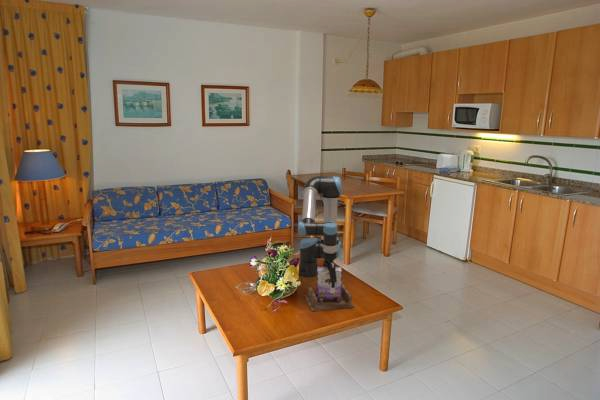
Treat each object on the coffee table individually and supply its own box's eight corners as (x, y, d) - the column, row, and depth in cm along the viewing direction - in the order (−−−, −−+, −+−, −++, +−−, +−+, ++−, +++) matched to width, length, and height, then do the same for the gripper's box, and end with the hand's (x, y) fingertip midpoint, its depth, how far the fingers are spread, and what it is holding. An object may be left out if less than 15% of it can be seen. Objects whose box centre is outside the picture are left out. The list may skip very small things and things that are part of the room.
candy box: (341, 294, 227) (341, 266, 223) (341, 298, 221) (342, 270, 218) (316, 293, 228) (317, 266, 224) (316, 297, 222) (316, 270, 219)
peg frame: (304, 296, 231) (304, 285, 230) (344, 293, 236) (344, 282, 234) (311, 311, 214) (311, 299, 213) (354, 307, 219) (354, 295, 217)
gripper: (317, 244, 230) (317, 279, 234) (329, 259, 206) (328, 297, 210) (330, 243, 231) (329, 278, 236) (343, 258, 207) (342, 296, 212)
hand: (329, 287), depth 223 cm, fingers open, 13 cm apart
